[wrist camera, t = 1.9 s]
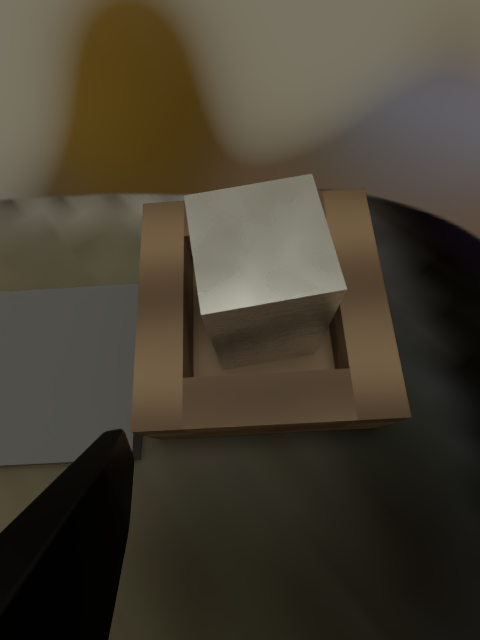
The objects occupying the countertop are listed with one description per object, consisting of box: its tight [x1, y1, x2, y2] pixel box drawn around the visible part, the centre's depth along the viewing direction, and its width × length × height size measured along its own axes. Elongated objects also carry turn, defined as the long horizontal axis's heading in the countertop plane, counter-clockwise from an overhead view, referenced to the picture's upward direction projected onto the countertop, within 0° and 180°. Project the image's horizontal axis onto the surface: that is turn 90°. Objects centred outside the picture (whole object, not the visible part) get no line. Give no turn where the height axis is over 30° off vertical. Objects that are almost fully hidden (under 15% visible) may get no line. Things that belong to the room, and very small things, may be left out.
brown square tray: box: [130, 188, 411, 439], centre depth 21 cm, size 12×12×5 cm
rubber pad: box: [0, 283, 142, 466], centre depth 22 cm, size 10×10×2 cm
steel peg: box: [184, 174, 347, 370], centre depth 17 cm, size 5×5×8 cm
